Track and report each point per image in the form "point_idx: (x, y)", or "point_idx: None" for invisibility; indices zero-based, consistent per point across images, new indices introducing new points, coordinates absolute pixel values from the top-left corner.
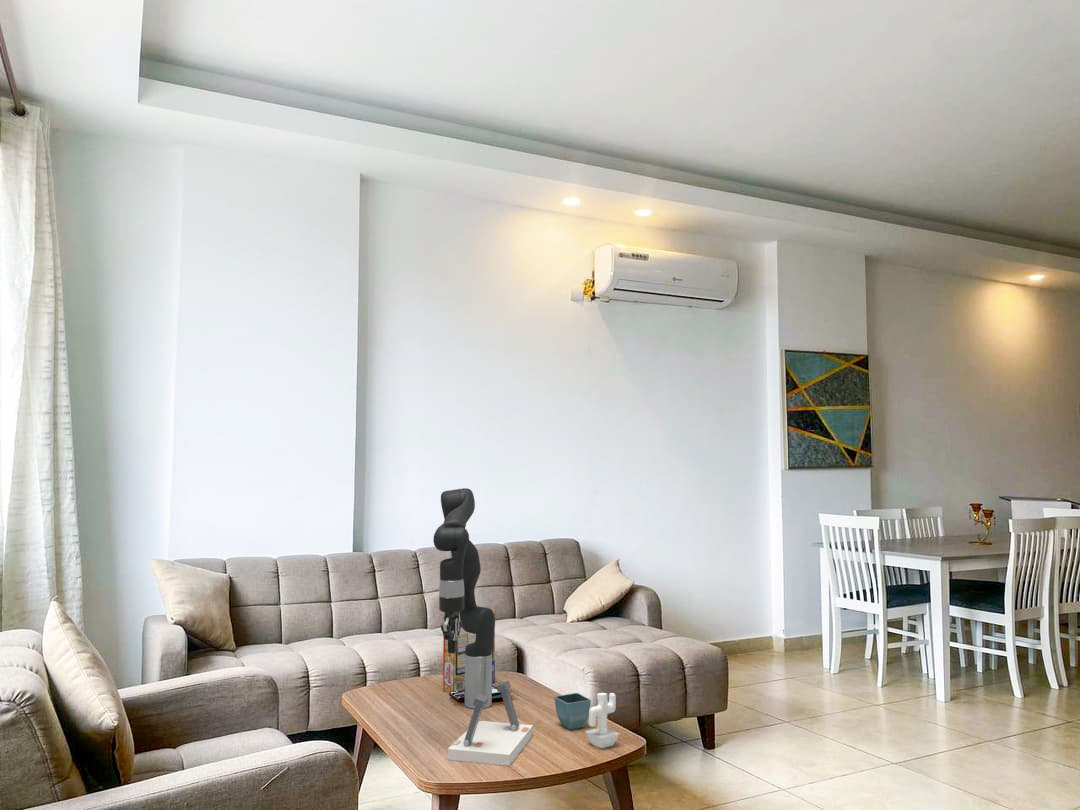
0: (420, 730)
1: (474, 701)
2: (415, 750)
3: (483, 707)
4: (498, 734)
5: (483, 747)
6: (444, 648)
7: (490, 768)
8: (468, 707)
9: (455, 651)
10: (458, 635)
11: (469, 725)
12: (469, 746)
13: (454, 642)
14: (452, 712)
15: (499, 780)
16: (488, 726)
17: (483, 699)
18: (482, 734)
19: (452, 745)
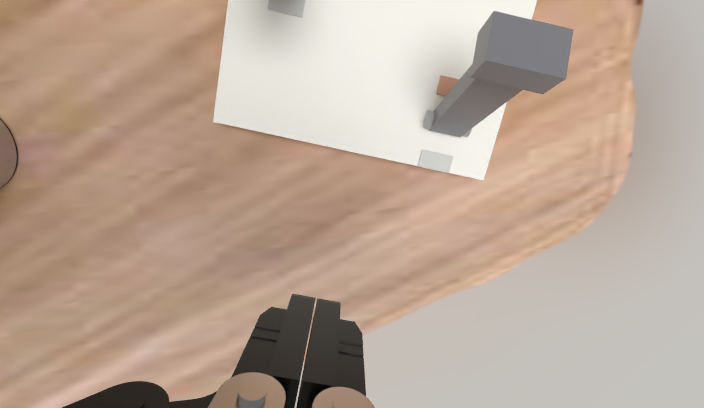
0: (244, 283)
1: (555, 84)
2: (401, 269)
3: (2, 125)
4: (350, 31)
5: None
6: None
7: None
8: (11, 176)
9: (317, 300)
10: (151, 391)
11: (486, 116)
12: None
13: (337, 374)
14: (67, 219)
15: (633, 10)
16: (270, 75)
17: (543, 35)
18: (352, 87)
19: (454, 170)
